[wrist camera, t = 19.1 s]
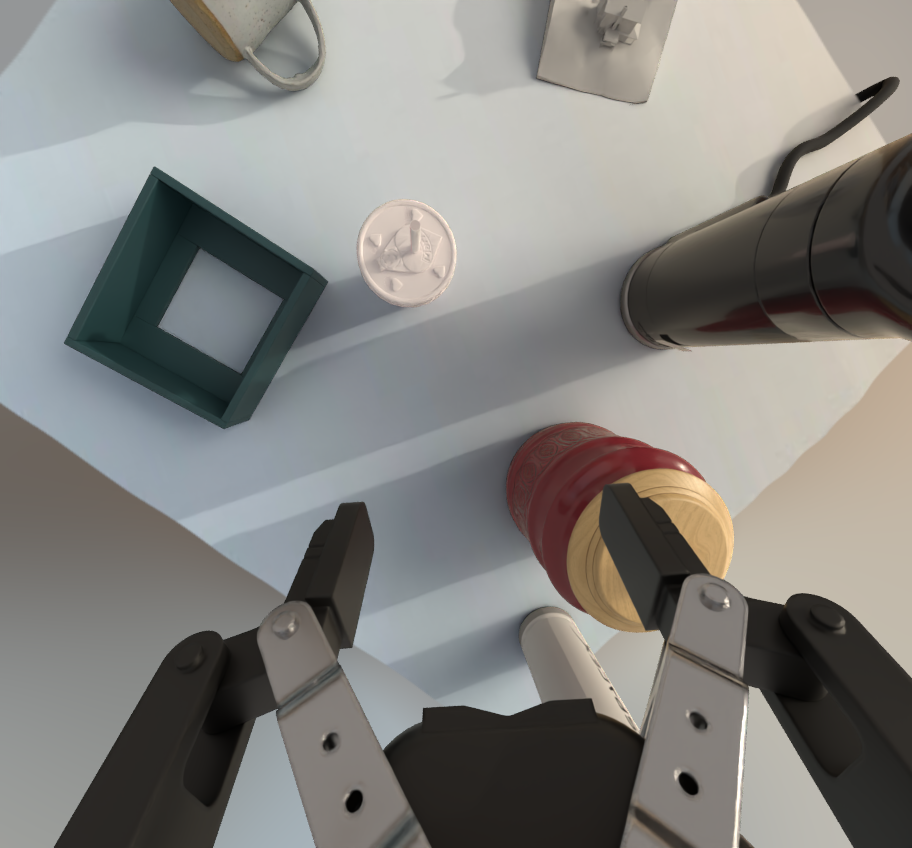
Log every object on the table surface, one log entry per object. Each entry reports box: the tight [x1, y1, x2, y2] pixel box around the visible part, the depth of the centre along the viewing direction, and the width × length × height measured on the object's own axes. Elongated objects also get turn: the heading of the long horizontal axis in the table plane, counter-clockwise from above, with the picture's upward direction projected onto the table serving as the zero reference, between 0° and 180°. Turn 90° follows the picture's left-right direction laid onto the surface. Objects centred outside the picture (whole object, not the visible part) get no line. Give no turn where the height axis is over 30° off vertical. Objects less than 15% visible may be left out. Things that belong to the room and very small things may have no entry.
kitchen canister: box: [506, 422, 734, 633], centre depth 29 cm, size 13×13×18 cm
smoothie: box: [357, 199, 457, 307], centre depth 26 cm, size 6×6×14 cm
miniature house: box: [536, 0, 677, 105], centre depth 29 cm, size 12×11×4 cm
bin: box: [64, 167, 328, 429], centre depth 30 cm, size 14×12×4 cm
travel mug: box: [519, 607, 640, 734], centre depth 31 cm, size 6×7×20 cm
